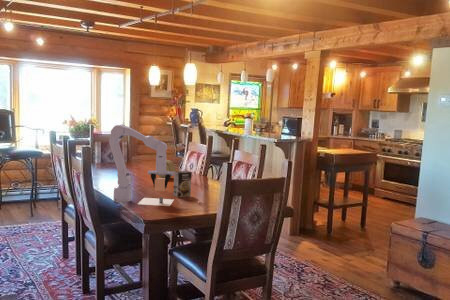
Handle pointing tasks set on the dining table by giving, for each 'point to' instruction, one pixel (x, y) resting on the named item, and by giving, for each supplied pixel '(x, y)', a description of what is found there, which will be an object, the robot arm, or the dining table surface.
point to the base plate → (156, 202)
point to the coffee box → (182, 183)
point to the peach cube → (160, 184)
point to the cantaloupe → (168, 168)
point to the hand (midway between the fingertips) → (160, 187)
